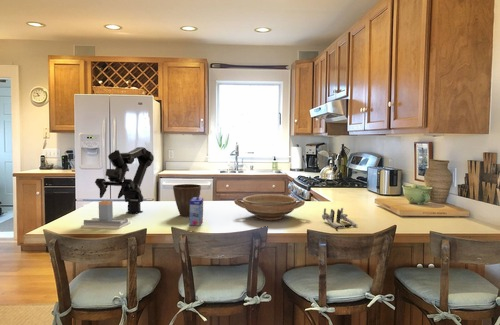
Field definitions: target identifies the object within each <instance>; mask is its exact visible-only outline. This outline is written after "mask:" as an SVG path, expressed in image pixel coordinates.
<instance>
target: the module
mask: <svg viewBox="0 0 500 325" xmlns="http://www.w3.org/2000/svg"><path fill="white" fill-rule="evenodd" d="M113 206H114V205H113V200H101V201H98V218H99V220H101V221H112V220H113V219H114V217H113V216H114V215H113V214H114V212H113V209H114V208H113Z"/></svg>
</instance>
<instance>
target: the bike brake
mask: <svg viewBox="0 0 500 325" xmlns="http://www.w3.org/2000/svg"><path fill="white" fill-rule="evenodd" d="M335 214H336V223H337V224H335V223H334V221H335ZM321 218H322V220H323V221H325V220H326V221H327V223H328V224H329V225H330V226H332V227H333V228H334V229H335V231H336V232H339V230H338V229H343V228H351V227H353V228H355V227H357V226H358V224H356V223H355V221H353V220H351V219H349V218H348V214H347V213H344V207H341V208H340V209H339V208H338V209H337V212H335V210H334V209H333V208H331V209H330V214H329V213H327V208H326V207H325V208H323V214H322V215H321ZM341 220H343V221H345V222H346V223H349V224H341Z"/></svg>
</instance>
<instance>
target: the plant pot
mask: <svg viewBox="0 0 500 325" xmlns="http://www.w3.org/2000/svg"><path fill="white" fill-rule="evenodd" d="M172 189H173V196H174V201H175V204H176V207H177V211H178V212H179V215H180V216H181V217H190V200H191V199H192V198H197V197H198V196H199V194H200V195H201V189H202V185H201V184H196V183H195V184H193V183H184V184H182V183H181V184H175V185H173V186H172ZM198 198H200V196H199V197H198Z"/></svg>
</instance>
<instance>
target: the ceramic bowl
mask: <svg viewBox="0 0 500 325" xmlns="http://www.w3.org/2000/svg"><path fill="white" fill-rule="evenodd" d="M233 202H234V204H235V205H236V206H238V207H240V208H242V209H245V210H246V211H247V212H248V213H250V214H252V215H255V216H256V217H257V219H260V220H263V221H264V220H265V221H275V220H276V221H277V220H281V219H282V218H283V216H286V215H288V214H291V213H292V212H294V210H296V209H298V208H300V207H302V206H304V205H305V200H302V199H301V200H299V201H298V199H297V198H295V197H294V196H290V195H284V194H269V193H268V194H254V195H253V194H252V195H248V196H244V197H243V198H242V200H239V199H234V200H233Z"/></svg>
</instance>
